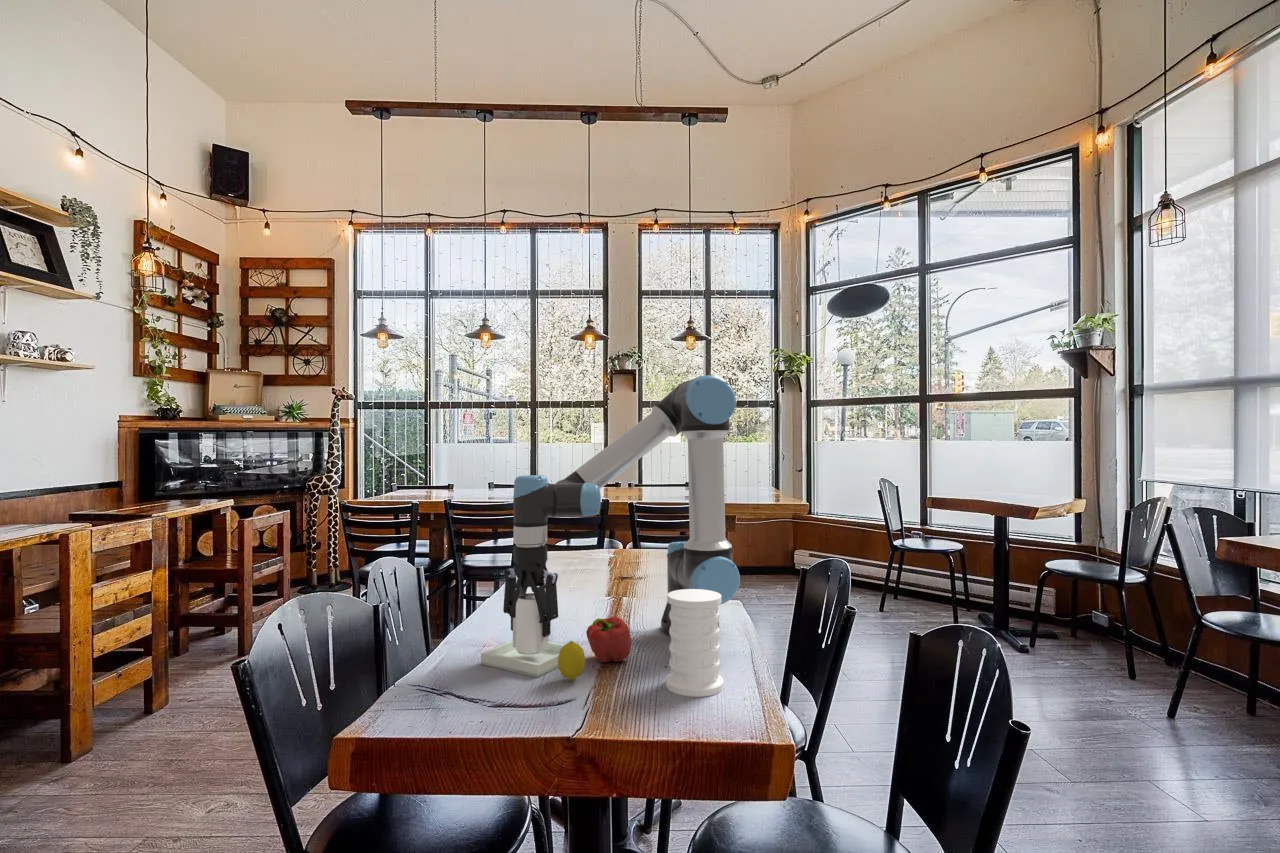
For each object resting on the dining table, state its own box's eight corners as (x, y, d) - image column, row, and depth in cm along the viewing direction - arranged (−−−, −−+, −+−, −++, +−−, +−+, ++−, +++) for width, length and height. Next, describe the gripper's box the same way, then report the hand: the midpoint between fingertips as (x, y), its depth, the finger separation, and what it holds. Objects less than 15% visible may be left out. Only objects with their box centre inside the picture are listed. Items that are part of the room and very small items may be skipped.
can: (546, 645, 144) (546, 592, 144) (543, 654, 137) (543, 599, 138) (518, 645, 144) (518, 592, 144) (513, 655, 137) (513, 599, 138)
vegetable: (610, 672, 133) (610, 625, 134) (574, 662, 140) (574, 617, 140) (641, 658, 142) (641, 614, 142) (606, 649, 148) (606, 607, 149)
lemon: (555, 677, 130) (555, 638, 131) (581, 674, 132) (581, 636, 133) (561, 687, 125) (561, 646, 125) (588, 683, 127) (588, 643, 127)
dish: (577, 657, 143) (577, 646, 143) (538, 677, 130) (538, 665, 131) (522, 646, 151) (522, 636, 151) (480, 664, 138) (480, 653, 138)
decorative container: (720, 675, 132) (720, 588, 132) (726, 697, 120) (726, 602, 121) (665, 674, 132) (665, 588, 133) (666, 696, 120) (665, 601, 121)
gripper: (575, 545, 140) (575, 650, 139) (508, 539, 149) (508, 637, 149) (554, 550, 133) (554, 660, 133) (486, 543, 143) (486, 646, 142)
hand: (530, 648), depth 141 cm, fingers closed on can, 6 cm apart
